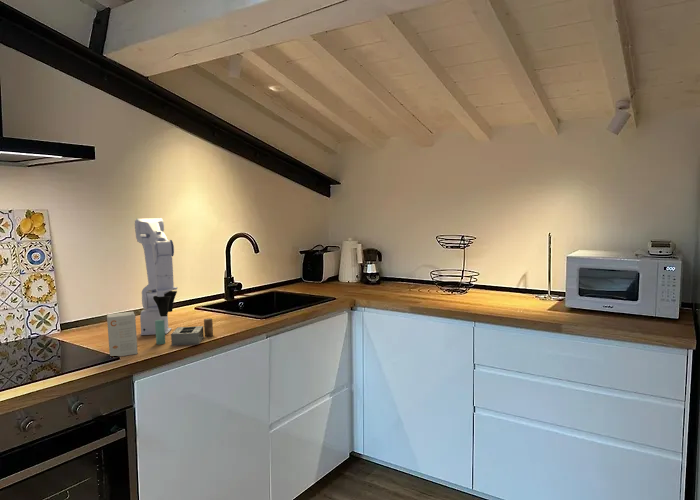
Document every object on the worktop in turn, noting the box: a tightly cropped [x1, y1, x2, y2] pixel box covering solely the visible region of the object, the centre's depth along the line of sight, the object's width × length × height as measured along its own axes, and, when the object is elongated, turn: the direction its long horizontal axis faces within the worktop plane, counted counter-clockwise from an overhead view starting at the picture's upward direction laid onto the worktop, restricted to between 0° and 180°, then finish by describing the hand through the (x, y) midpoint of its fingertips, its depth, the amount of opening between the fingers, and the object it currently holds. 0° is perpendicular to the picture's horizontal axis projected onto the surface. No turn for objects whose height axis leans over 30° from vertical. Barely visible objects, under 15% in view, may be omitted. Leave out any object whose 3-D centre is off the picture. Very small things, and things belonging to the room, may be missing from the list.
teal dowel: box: [155, 320, 166, 345], centre depth 174 cm, size 3×3×8 cm
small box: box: [106, 311, 139, 357], centre depth 161 cm, size 8×6×13 cm
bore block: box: [170, 325, 205, 347], centre depth 176 cm, size 9×10×4 cm
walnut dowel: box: [203, 317, 214, 337], centre depth 183 cm, size 3×3×6 cm
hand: (166, 313), depth 175 cm, fingers open, 7 cm apart
